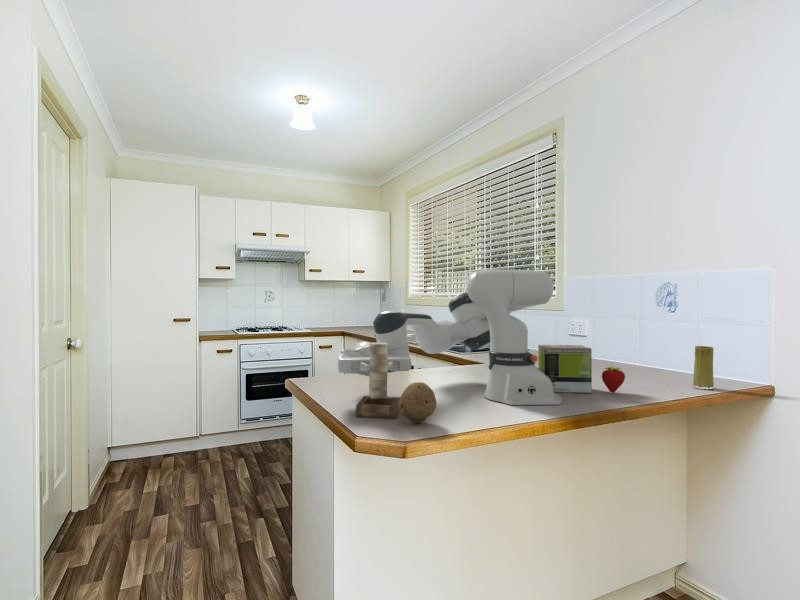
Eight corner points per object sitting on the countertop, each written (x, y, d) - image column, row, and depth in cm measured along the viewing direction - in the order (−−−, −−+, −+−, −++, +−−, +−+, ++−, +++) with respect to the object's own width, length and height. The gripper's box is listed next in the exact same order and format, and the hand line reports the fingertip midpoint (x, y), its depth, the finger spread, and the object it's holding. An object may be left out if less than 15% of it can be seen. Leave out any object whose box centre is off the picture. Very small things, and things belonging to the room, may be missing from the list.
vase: (718, 390, 152) (719, 348, 152) (699, 390, 152) (700, 347, 152) (706, 386, 158) (707, 345, 158) (688, 386, 158) (689, 345, 158)
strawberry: (629, 394, 144) (630, 363, 144) (609, 395, 142) (609, 363, 142) (616, 390, 150) (617, 360, 150) (596, 391, 148) (597, 360, 148)
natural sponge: (444, 425, 107) (445, 384, 107) (412, 431, 103) (413, 387, 103) (423, 416, 115) (424, 377, 115) (393, 421, 111) (393, 380, 111)
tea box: (582, 387, 154) (583, 344, 154) (591, 394, 144) (592, 348, 144) (537, 386, 155) (538, 343, 155) (543, 392, 145) (544, 346, 145)
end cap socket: (399, 408, 123) (400, 397, 123) (395, 418, 113) (395, 406, 113) (363, 407, 124) (363, 396, 124) (356, 417, 114) (356, 405, 114)
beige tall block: (383, 394, 121) (384, 342, 120) (386, 398, 117) (387, 344, 117) (369, 395, 120) (370, 342, 120) (371, 398, 116) (372, 344, 116)
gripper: (404, 370, 133) (417, 379, 120) (335, 372, 129) (340, 381, 115) (405, 349, 133) (417, 355, 120) (335, 350, 128) (340, 357, 115)
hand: (378, 368), depth 117 cm, fingers closed on beige tall block, 4 cm apart
